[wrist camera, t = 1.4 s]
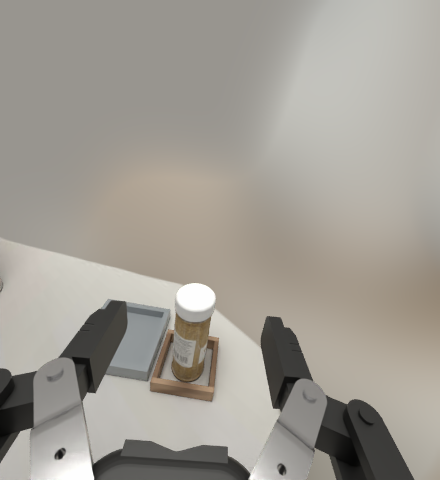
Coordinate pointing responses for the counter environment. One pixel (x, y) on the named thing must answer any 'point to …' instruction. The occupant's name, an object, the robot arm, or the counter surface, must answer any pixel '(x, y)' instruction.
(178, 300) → the sprinkles bottle
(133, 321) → the slate tray
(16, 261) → the counter surface
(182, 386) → the wooden picture frame
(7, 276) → the counter surface
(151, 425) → the counter surface
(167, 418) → the counter surface
